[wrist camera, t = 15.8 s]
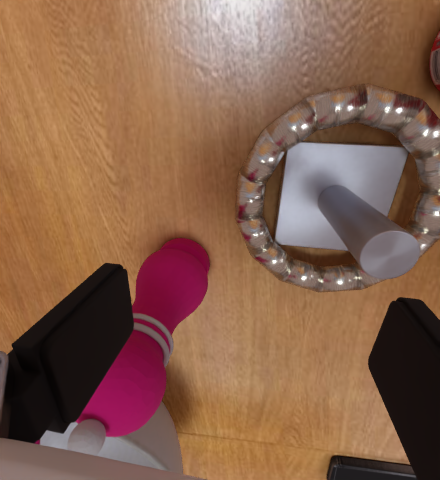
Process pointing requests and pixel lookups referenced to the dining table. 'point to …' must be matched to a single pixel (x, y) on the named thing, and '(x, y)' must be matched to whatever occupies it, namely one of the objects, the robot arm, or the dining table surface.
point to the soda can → (435, 62)
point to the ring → (327, 116)
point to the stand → (345, 204)
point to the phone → (367, 470)
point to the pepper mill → (145, 345)
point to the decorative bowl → (136, 443)
